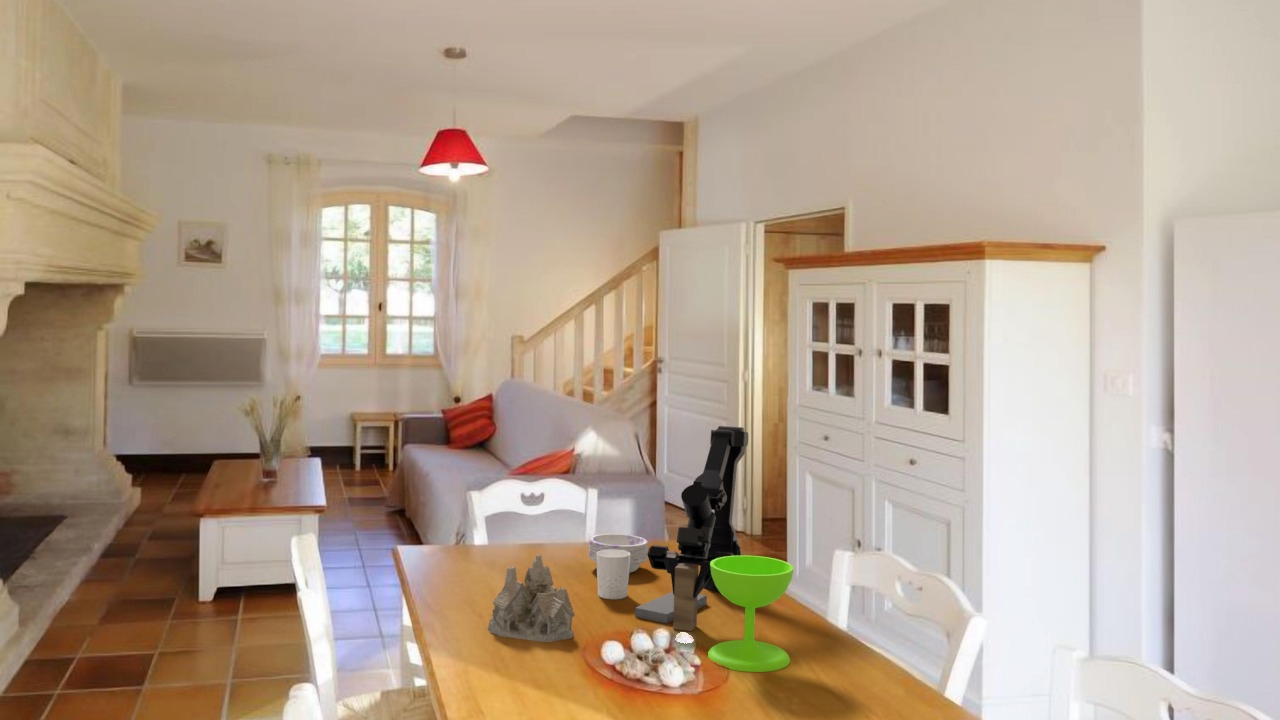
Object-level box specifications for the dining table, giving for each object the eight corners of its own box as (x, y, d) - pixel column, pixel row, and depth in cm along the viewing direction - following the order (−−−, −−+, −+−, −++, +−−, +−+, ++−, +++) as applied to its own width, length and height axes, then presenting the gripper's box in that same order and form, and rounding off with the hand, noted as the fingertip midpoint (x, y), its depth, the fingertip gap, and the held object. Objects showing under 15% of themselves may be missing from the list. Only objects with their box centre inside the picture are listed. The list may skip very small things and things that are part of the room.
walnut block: (678, 623, 217) (680, 563, 217) (696, 625, 216) (698, 564, 216) (673, 628, 214) (675, 567, 213) (691, 631, 212) (693, 569, 212)
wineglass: (695, 663, 193) (698, 569, 192) (721, 639, 208) (724, 552, 207) (778, 677, 187) (781, 579, 186) (798, 651, 202) (802, 561, 201)
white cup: (625, 601, 233) (626, 558, 233) (591, 598, 235) (593, 555, 235) (632, 592, 241) (633, 550, 241) (600, 590, 243) (601, 548, 242)
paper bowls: (658, 568, 265) (659, 538, 265) (626, 580, 252) (627, 548, 252) (609, 559, 273) (610, 530, 273) (576, 570, 261) (577, 539, 260)
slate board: (676, 598, 237) (676, 590, 237) (706, 604, 233) (706, 595, 233) (635, 616, 222) (635, 607, 222) (667, 623, 218) (667, 614, 218)
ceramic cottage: (482, 623, 214) (487, 553, 212) (556, 619, 220) (562, 551, 219) (502, 651, 200) (508, 576, 198) (581, 645, 206) (587, 573, 205)
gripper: (651, 507, 220) (634, 570, 210) (736, 515, 215) (722, 580, 205) (660, 536, 228) (644, 598, 218) (742, 544, 223) (730, 608, 213)
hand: (684, 595), depth 213 cm, fingers closed on walnut block, 4 cm apart
